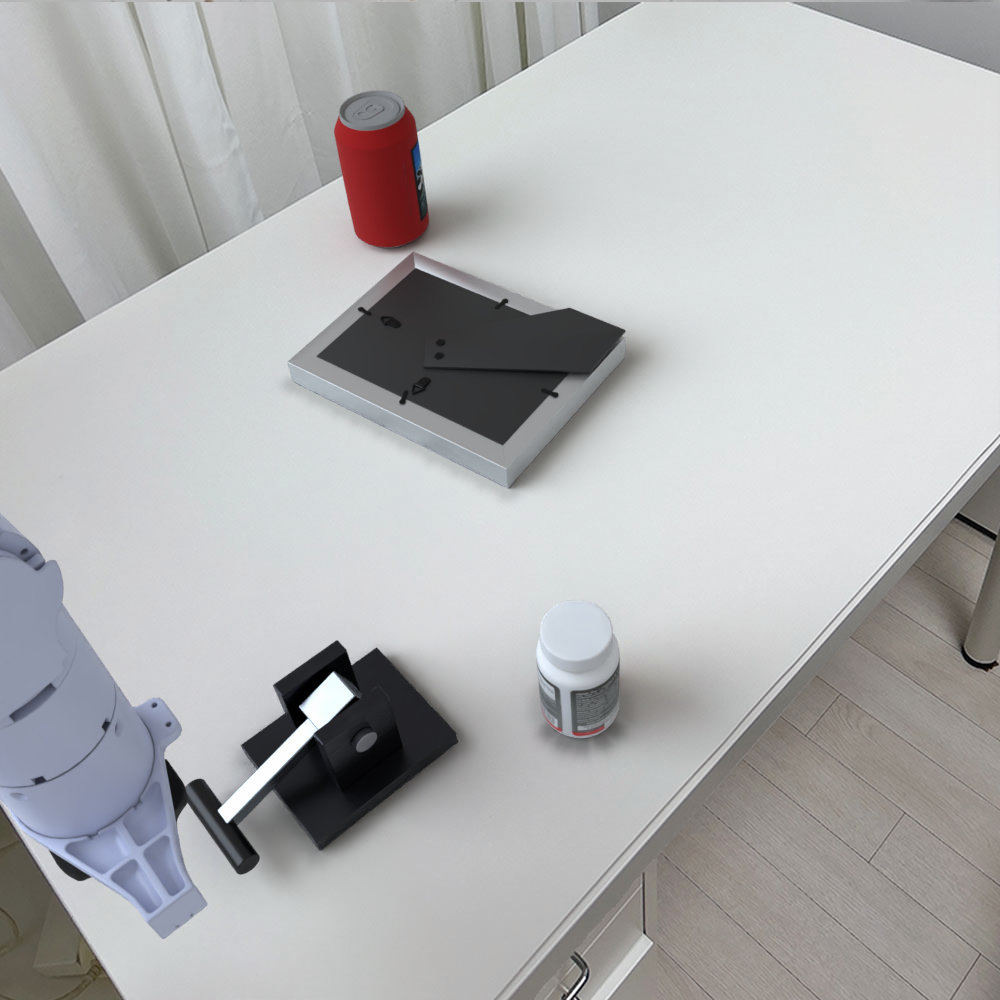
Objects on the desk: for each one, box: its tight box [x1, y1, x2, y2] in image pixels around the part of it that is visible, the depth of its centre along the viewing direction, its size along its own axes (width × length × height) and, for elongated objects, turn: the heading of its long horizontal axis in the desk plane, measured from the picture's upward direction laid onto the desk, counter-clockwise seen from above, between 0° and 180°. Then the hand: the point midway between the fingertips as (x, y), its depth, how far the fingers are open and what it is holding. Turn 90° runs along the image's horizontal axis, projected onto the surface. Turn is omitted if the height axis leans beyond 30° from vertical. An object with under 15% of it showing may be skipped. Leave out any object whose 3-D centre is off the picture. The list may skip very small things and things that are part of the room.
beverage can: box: [333, 90, 430, 249], centre depth 93 cm, size 7×7×12 cm
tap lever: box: [185, 671, 363, 876], centre depth 61 cm, size 11×6×2 cm, turn 130°
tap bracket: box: [240, 639, 459, 852], centre depth 63 cm, size 10×8×7 cm
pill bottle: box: [535, 599, 621, 739], centre depth 63 cm, size 5×5×8 cm
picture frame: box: [286, 251, 626, 489], centre depth 85 cm, size 16×3×21 cm
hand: (155, 857), depth 51 cm, fingers closed
